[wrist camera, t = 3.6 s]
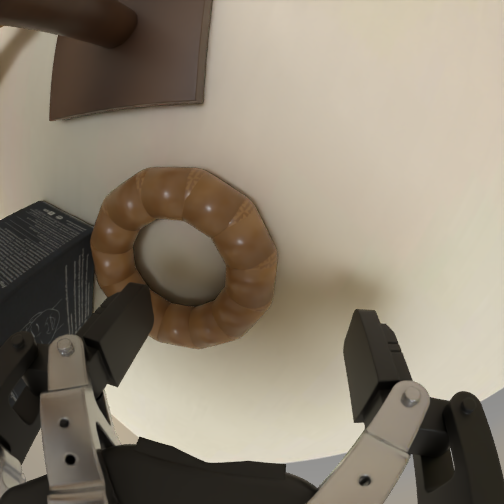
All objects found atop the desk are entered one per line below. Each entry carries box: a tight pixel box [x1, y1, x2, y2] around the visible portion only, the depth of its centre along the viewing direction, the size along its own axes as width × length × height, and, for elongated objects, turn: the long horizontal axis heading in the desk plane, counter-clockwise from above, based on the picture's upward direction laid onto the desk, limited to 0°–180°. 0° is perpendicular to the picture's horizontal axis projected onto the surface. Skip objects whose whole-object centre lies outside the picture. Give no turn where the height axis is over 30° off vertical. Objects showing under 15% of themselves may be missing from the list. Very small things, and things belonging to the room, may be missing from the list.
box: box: [0, 201, 94, 407], centre depth 12 cm, size 8×6×11 cm
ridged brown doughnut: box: [90, 167, 278, 349], centre depth 14 cm, size 10×10×2 cm
